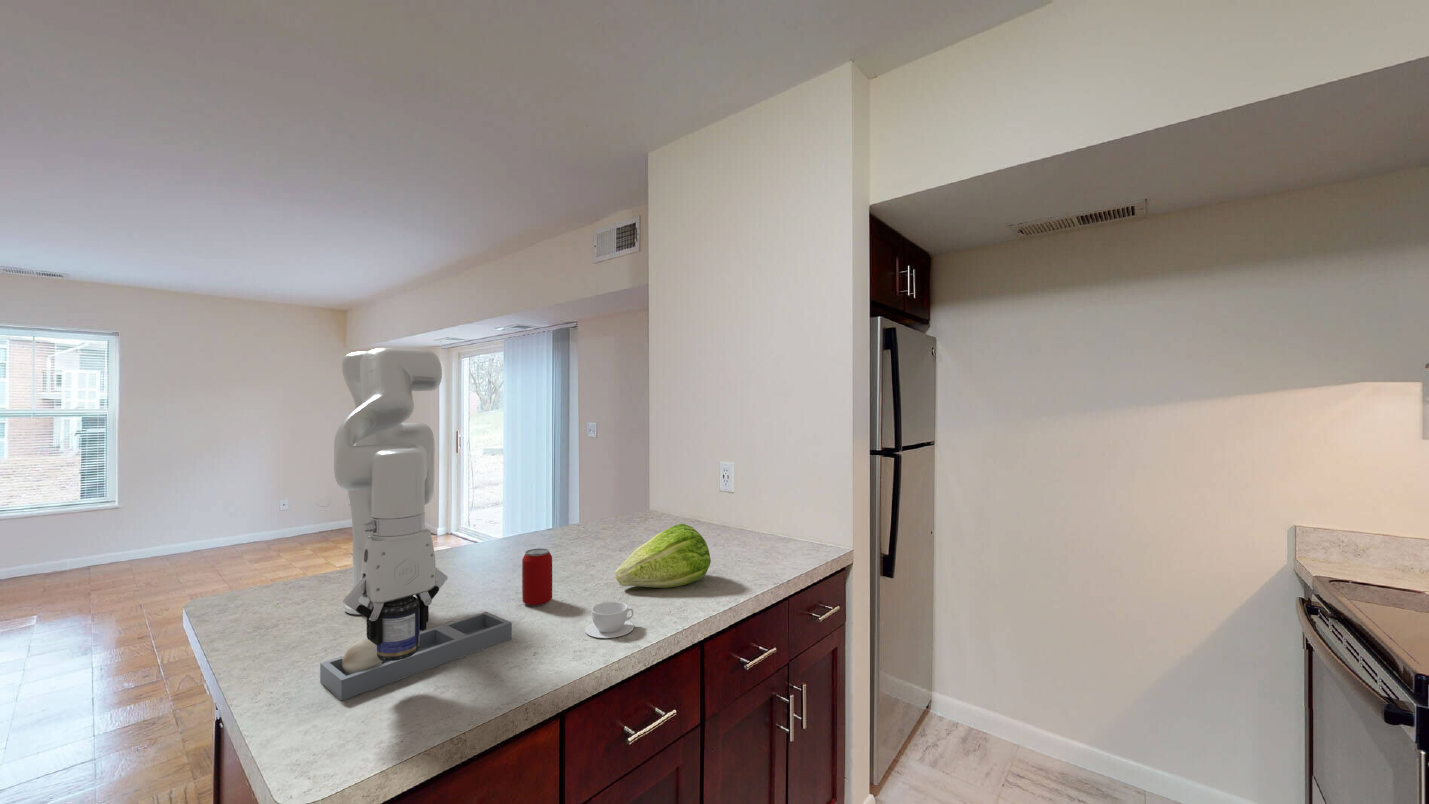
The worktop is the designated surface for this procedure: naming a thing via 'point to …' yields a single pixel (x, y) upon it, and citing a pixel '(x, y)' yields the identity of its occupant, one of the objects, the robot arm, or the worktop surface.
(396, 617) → the pill bottle
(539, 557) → the beverage can
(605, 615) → the teacup
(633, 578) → the lettuce
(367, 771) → the worktop surface
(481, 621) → the well holder
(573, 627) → the worktop surface
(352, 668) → the potato
